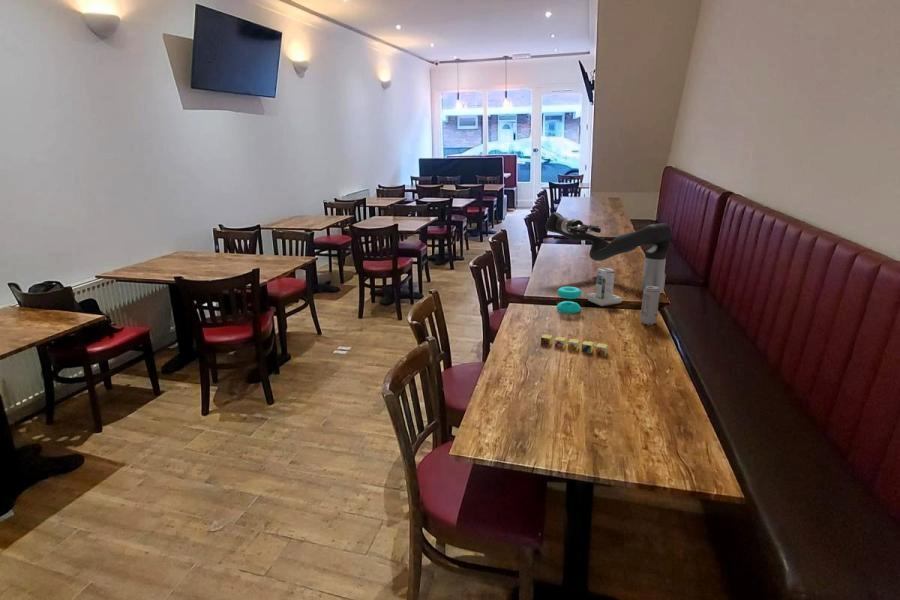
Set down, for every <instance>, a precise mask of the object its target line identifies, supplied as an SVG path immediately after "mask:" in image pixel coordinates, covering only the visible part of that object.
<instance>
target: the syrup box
mask: <svg viewBox="0 0 900 600" xmlns="http://www.w3.org/2000/svg"><path fill="white" fill-rule="evenodd" d="M615 273H616V269H615V270H614V269H612V268H609V267H598V268H597V273H596V281H595V282H596V283H595V292H594V293H595V297H597V298H599V299H602V300H603V299H610V298H612V297H613V293H614V285H615Z"/></svg>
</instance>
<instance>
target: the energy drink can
mask: <svg viewBox="0 0 900 600" xmlns="http://www.w3.org/2000/svg"><path fill="white" fill-rule="evenodd" d="M642 293H643V294H642V302H641V310H640V312H641V313H640V322H641V324H642V323H644V324H643V325H645V324H649V325H648V326H651V325H650V324H654V323H655V324H656V323H657V319H658V313H659V303H660V295H661V294H660V291H659V287H657V286H646V288H645V289H644V291H643V292H642ZM655 324H654V325H655Z"/></svg>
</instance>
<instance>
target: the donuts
mask: <svg viewBox="0 0 900 600" xmlns="http://www.w3.org/2000/svg"><path fill="white" fill-rule="evenodd" d="M582 293H583V292H582V290H581V289H580V288H578V287H577V286H576V287H575V286H562V287H559V288H558V290H557V294H558V296H559V297H561V298H563V299H568V300H564V301H561V302H558V304H557V306H556V309H557V311H558V312H559V311H560V313H562V312H563V313H562V314H566V313H574V314H577V312H578V313H579V312H580V311H581V305H580V304H578V302H576V301H575V302H574V301H570V300H571V299H577V298H580V297H581V296H582Z"/></svg>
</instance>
